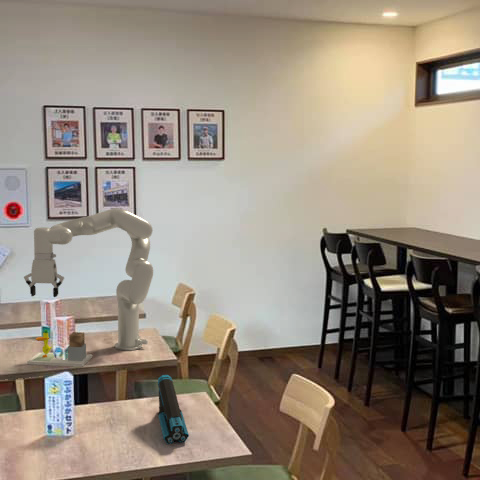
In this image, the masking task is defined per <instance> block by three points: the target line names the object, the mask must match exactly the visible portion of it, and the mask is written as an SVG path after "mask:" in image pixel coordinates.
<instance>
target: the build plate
mask: <svg viewBox="0 0 480 480" xmlns="http://www.w3.org/2000/svg"><path fill="white" fill-rule="evenodd" d="M53 353H54V352H49V353H48V354H47V357H45V358H43V355H45V354H44V352H40V351H39V352H37V353H36V354H35V355H33V357H31V358H30V359H29V360H27V361H26V364H27V365H35V366H37V365H38V366H39V365H40V366H54V367H55V366H56V367H57V366H58V367H60V366H61V367H79V368H81V367H84V366H85V365H86V364H87V363H88V362H89V361H90V360H91V359H92V357H93V355H92V354H90V353H89V354H87V353H86V358H85V359H84V360H82V361H68V358H67V359H66V360H59V359H56V358H55V357H54V355H53Z"/></svg>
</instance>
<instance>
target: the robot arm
mask: <svg viewBox="0 0 480 480" xmlns="http://www.w3.org/2000/svg"><path fill="white" fill-rule="evenodd" d="M115 228H117V229H121V230H123V231H125V232H126V233H127V235H128V236H129V237H130V238H129V239H130V240H131V247H130V252H129V255H128V259H127V262H126V264H125V269H124V270H125V274H126V275H127V276H129V277H130V278H131V279H124V280H121V281H120V282H119V283H118V284H117V286H116V289H115V290H116V291H115V292H116V293H115V294H116V299H117V342H116V343H115V344H114V348H115V349H116V350H120V351H135V350H139V349H141V348H142V347H143V345H148V339H145V338H144V339H142V338H141V336H140V330H139V328H140V321H139V320H140V315H139V314H140V310H139V309H140V307H139V305H140V304H142V303H144V301H146V298H147V296H148V293H149V291H150V287H151V283H152V281H153V276H154V267H153V265H152V263H151V262H149V261H148V260H149V254H150V251H151V250H150V249H151V241H150V237H151V236H152V234H153V227H152V224H151V223H150V222H148V221H147V220H145V219H143V218H141V217H140V216H138V215H136V214H134V213H132V212H130V211H129V210H126V209H122V208H117V207H116V208H111V209H107V210H104V211H100V212H97V213H94V214H91V215H89V216H88V215H87V216H84V217H83V216H82V217H80V218H76V219H71V220H67V221H64V222H63V221H62V222H60V223H57V224H53V225H52V226H51V227H43V226H42V227H35V229H33V247H34V248H33V251H34V253H33V254H34V255H33V256H34V259H32V263H31V271H30V273H28V274H26V275H25V276H23V278H24V281H25V283H26V284H27V286H28V287H29V290H30V292H29V293H30V296H31V297H34V296H36V295H37V294H36V292H37V291H36V285H37V284H51V285H52V286H53V289H52V294H53V296H52V297H54V298H56V297H57V296H58V295H59V287H60V286H61V285H62V284H63V282H64V280H65V277H64V276H63V275H61V274H58V270H57V269H58V267H57V263H56V262H57V261H56V259H54V258H57V254H56V253H55V254H54V246H53V245H62V246H63V245H68V244H70V242H71V241H72V240H73V238H74V237H79V236H92V235H98V234H101V233H103V232H107V231H109V230H112V229H115ZM29 278H31V280H30V279H29ZM58 279H59V281H58Z"/></svg>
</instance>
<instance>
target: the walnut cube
mask: <svg viewBox="0 0 480 480" xmlns="http://www.w3.org/2000/svg"><path fill="white" fill-rule="evenodd" d="M68 336H69V337H68V341H69V343H68V344H69V345H68V346H69V347H82V346H83V345H84V344H86V343H85V339H86V337H85V332H78V331H73V332H71V333H70V334H69V335H68Z"/></svg>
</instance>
